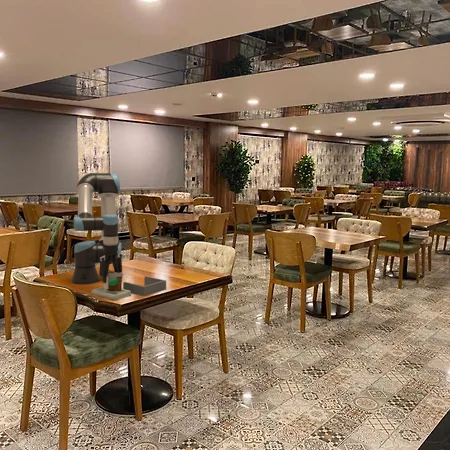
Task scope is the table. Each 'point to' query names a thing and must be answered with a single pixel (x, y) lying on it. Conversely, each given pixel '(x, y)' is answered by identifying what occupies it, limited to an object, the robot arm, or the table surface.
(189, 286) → the table surface
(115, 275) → the food container
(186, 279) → the table surface
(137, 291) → the bay
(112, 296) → the tray
